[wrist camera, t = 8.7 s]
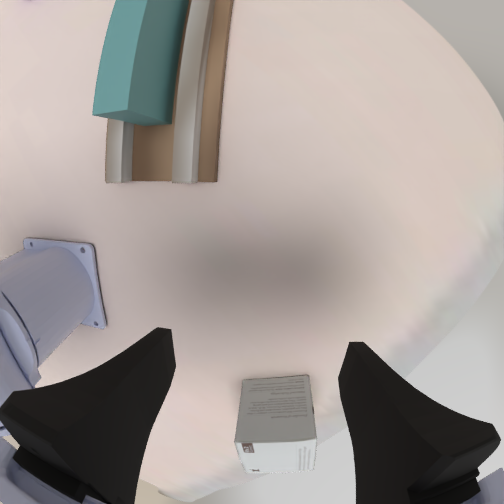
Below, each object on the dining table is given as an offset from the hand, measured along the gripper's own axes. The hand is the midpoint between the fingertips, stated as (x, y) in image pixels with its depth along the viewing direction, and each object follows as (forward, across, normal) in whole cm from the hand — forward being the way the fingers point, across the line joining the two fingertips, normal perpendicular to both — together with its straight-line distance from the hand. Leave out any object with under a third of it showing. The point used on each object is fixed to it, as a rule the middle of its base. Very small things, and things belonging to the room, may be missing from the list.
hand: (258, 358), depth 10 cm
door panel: (+8, +7, -15) cm, 18 cm away
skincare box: (+10, -2, +13) cm, 16 cm away
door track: (+9, +7, -15) cm, 19 cm away
